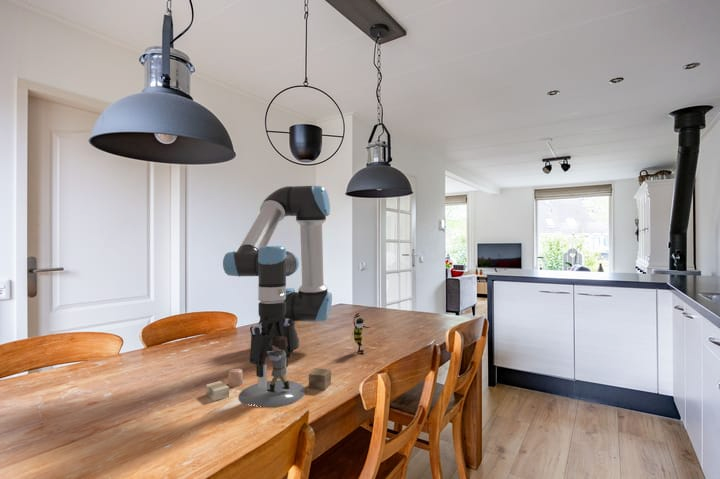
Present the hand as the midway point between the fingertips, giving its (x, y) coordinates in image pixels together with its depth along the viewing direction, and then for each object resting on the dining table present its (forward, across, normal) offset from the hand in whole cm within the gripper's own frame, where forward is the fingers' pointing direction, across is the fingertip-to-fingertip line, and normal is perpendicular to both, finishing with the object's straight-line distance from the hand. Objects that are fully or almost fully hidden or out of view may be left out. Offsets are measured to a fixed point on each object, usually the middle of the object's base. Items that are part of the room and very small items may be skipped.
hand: (272, 383), depth 104 cm
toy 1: (+2, -1, 0) cm, 2 cm away
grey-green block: (+4, -10, +11) cm, 15 cm away
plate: (+4, 0, 0) cm, 4 cm away
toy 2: (+4, +47, +3) cm, 47 cm away
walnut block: (+4, +12, -7) cm, 14 cm away
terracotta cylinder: (+4, -2, +14) cm, 15 cm away
